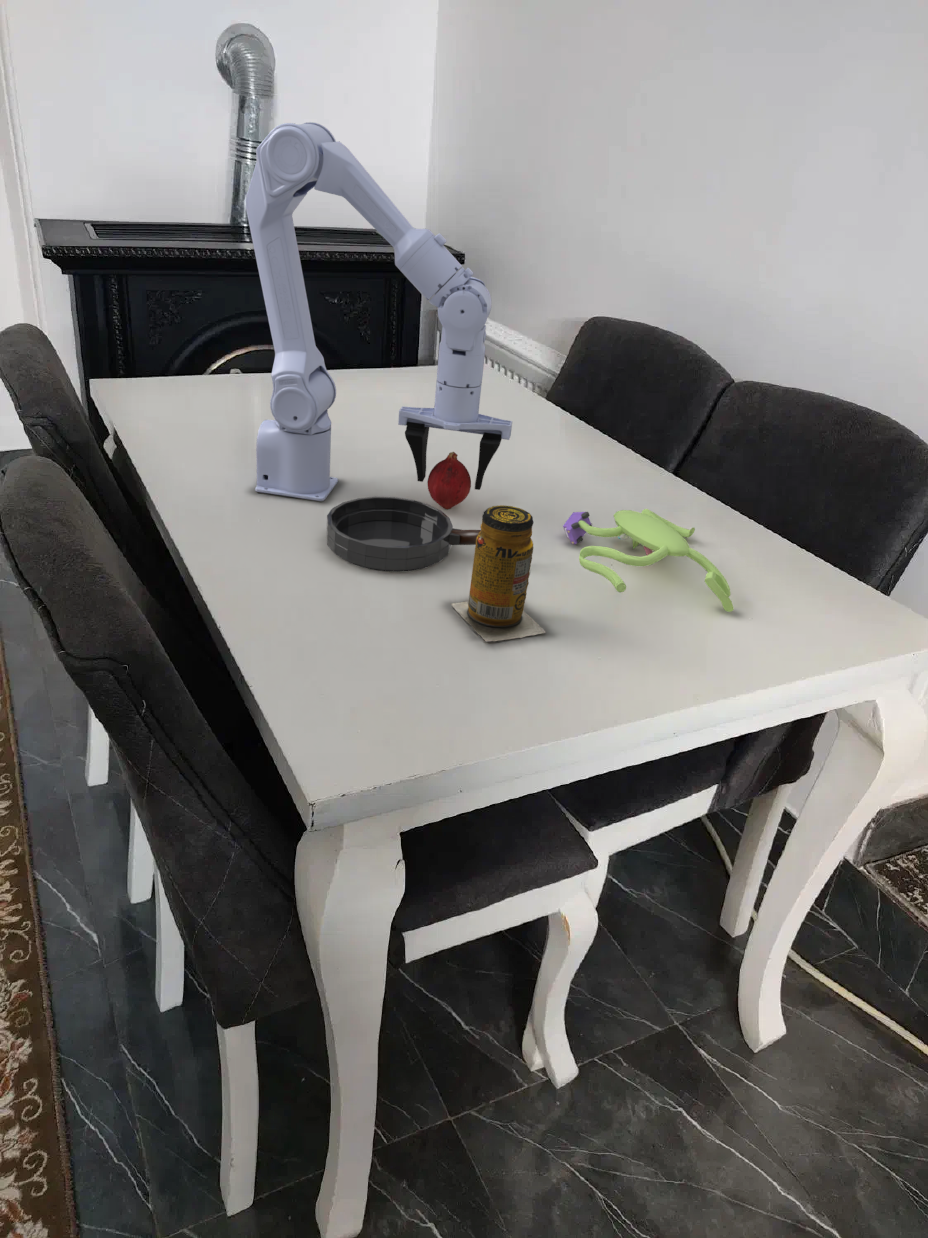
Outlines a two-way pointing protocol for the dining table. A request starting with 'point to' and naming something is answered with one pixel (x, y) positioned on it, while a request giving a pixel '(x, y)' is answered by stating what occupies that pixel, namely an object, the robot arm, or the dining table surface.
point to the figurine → (651, 536)
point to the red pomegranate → (449, 482)
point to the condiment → (501, 576)
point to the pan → (388, 533)
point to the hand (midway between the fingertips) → (449, 483)
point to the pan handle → (463, 537)
